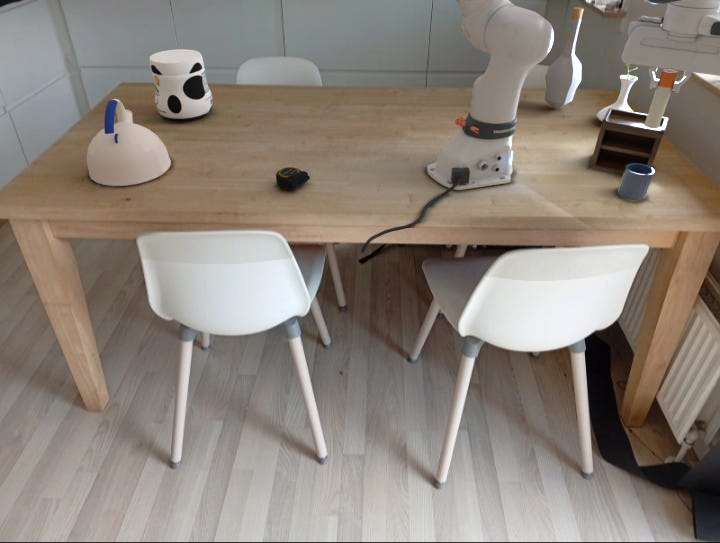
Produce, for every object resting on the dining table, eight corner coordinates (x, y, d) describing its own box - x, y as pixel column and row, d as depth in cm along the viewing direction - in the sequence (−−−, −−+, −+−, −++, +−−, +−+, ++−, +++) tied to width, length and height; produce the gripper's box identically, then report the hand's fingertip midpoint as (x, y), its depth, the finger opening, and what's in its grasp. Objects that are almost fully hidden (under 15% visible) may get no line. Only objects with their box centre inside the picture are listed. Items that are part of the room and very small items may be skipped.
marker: (652, 129, 119) (671, 73, 111) (641, 124, 121) (659, 70, 114) (661, 127, 120) (681, 72, 113) (650, 122, 122) (668, 68, 115)
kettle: (175, 149, 150) (160, 84, 139) (166, 183, 134) (149, 112, 123) (99, 154, 148) (78, 88, 137) (81, 190, 131) (55, 118, 120)
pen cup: (632, 204, 125) (642, 177, 121) (611, 193, 130) (619, 166, 126) (650, 198, 128) (660, 171, 124) (629, 187, 132) (638, 161, 128)
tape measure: (291, 195, 129) (290, 181, 127) (271, 187, 132) (269, 173, 130) (310, 184, 133) (309, 171, 131) (290, 177, 137) (288, 163, 134)
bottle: (576, 116, 170) (602, 13, 152) (540, 113, 172) (561, 11, 154) (571, 103, 179) (595, 5, 161) (537, 101, 180) (556, 3, 162)
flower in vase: (636, 132, 160) (665, 43, 145) (596, 127, 163) (619, 39, 148) (633, 116, 170) (660, 32, 155) (595, 112, 173) (617, 29, 158)
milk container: (149, 113, 172) (135, 55, 161) (198, 101, 181) (187, 45, 171) (174, 129, 162) (161, 68, 151) (225, 115, 171) (215, 56, 160)
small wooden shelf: (647, 180, 135) (664, 130, 127) (589, 168, 141) (602, 119, 133) (651, 166, 141) (668, 117, 133) (595, 155, 147) (609, 107, 139)
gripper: (630, 17, 109) (610, 85, 117) (746, 29, 101) (716, 102, 109) (634, 11, 113) (615, 78, 122) (745, 23, 105) (717, 93, 114)
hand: (664, 89), depth 115 cm, fingers closed on marker, 3 cm apart
